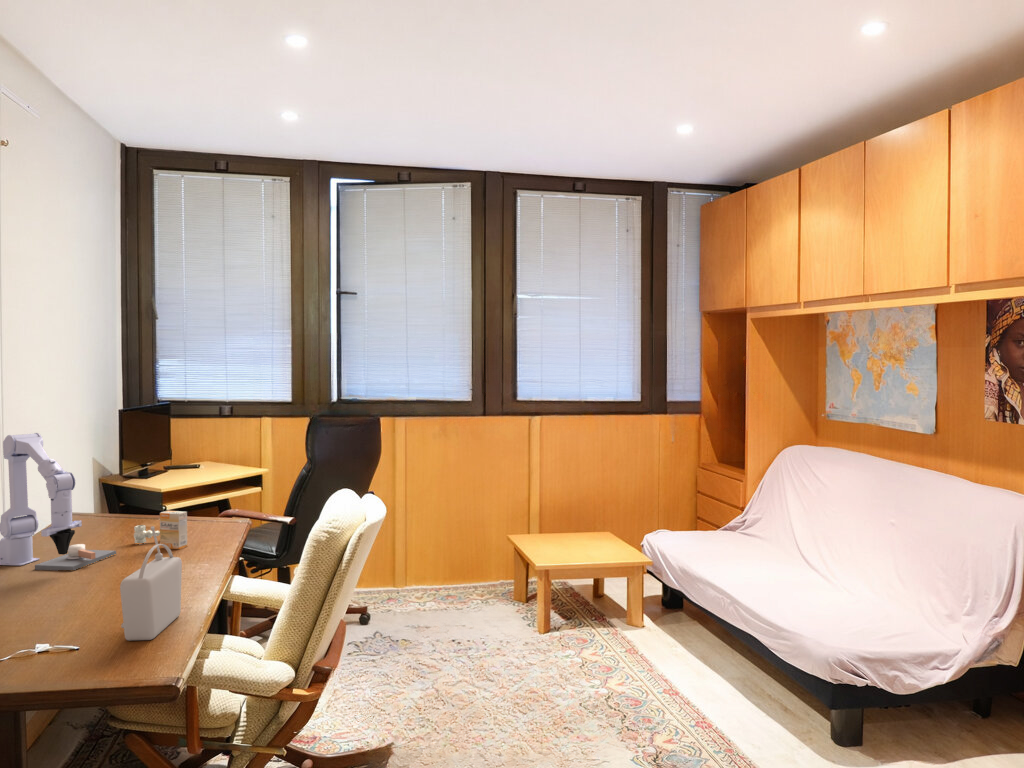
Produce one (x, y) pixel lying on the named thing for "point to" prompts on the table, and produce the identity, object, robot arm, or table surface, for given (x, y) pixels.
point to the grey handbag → (151, 595)
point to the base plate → (72, 561)
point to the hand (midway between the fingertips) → (62, 553)
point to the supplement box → (173, 529)
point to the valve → (143, 533)
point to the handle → (80, 551)
